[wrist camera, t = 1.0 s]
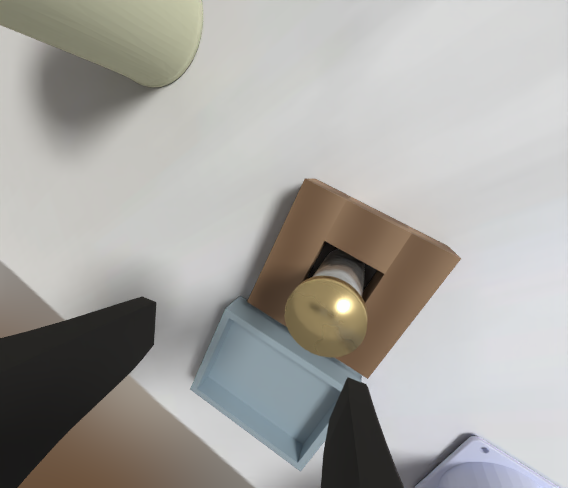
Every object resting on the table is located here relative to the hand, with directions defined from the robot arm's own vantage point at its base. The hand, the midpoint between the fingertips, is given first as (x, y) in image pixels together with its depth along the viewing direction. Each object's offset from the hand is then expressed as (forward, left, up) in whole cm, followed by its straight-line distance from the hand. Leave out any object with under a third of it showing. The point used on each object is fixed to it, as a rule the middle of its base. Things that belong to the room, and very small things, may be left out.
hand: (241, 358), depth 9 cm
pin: (-2, 0, -12) cm, 13 cm away
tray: (-2, +12, -12) cm, 17 cm away
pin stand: (-2, 0, -12) cm, 13 cm away
